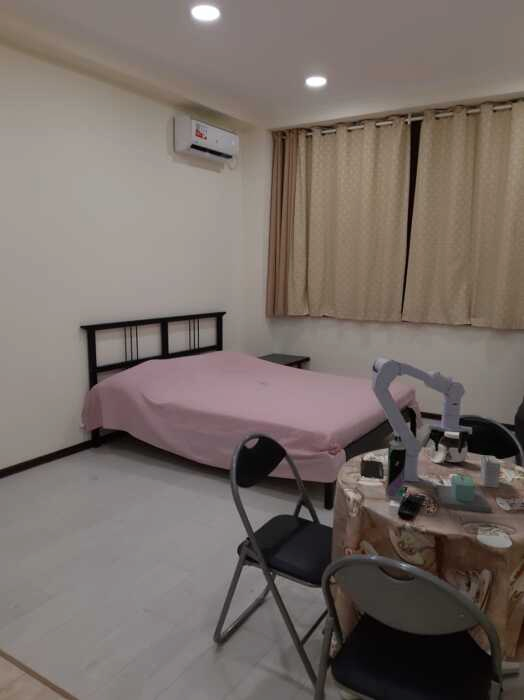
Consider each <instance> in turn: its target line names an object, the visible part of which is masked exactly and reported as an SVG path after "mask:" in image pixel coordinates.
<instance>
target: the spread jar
mask: <svg viewBox="0 0 524 700" xmlns="http://www.w3.org/2000/svg"><path fill="white" fill-rule="evenodd" d="M458 444H459V432H446V431H444V436H442V437H441V438H440V440H439V441H438V451H435V445H433V446H432V447H431V449H430V452H429V457H430V460H431V461H432V462H433V463H436V464H441V463H445V464H448V465H461V464H462V463H464V461H466V459H467V456H468V441H466V442H465V444H464V446H463V448H462V451H461V453H458Z"/></svg>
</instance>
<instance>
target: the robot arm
mask: <svg viewBox="0 0 524 700" xmlns="http://www.w3.org/2000/svg"><path fill="white" fill-rule="evenodd" d="M370 369H371V390H372V392H373V393H374V395H375V397H376V399H377V401H378V403H379V405H380V407H381V408H382V411H383V412H384V414H385V416H386V418H387V420H388V422H389V424H390V426H391V427H392V429H393V434H394V437H395V436H401V440H402V441H403V442H404V443H406V459H405V474H404V482H412V483H419V482H420V480H419V477H418V476H419V475H418V464H419V463H418V462H419V454H420V453H421V451H422V449H423V445H422V442H421V440H419V439H417V438H416V437H415V435H414V432H412V430H411V429H410V428H409V426H408V425H407V422H406V420H405V418H404V416H403V415H402V413H401V411H400V409H399V407H398V405H397V403H396V401H395V400H394V397H393V395H392V394H391V392H390V389H389V388H390V386H391V384H392V382H394V380H395V379H396V378H397V377H401V376H405V375H407V376H409V377H411V378H415V379H417V380H420V381H421V382H423V383H424V385H425V387H427V388H429V389H431V390H434V391H437V392H439V393H441V394H443V400H442V411H441V412H442V413H441V421H440V422H441V423H428V424H427V431H429V432H430V433H431V435H432V439H433V442H434V446H435V451H438V445H439V442H440V440H439V439H440V438H439V437H440V432H445V431H446V432H459V444H458V453H461V451H462V448H463V446H464V444H465V442H467V441H468V439H469V437H470V435H472V434H473V427H472V426H471V427H470V426H465V425H464V426H463V425H460V414H461V402H462V398H463V396H464V395H465V393H466V389H465V387H464V385H463V384H462V383H461V382H459V381H456V380H454V379H453V378H452V377H450V376H445V375H443V374H441V372H439V371H437V370H435V371H428V372H425V371H423V370H422V369H419V368H417V367H415V366H412V365H410V364H408V363H407V362H404V361H401V360H398V359H394V358H388V357H387V356H384V355H383V356H379V357H377V358H376V359H375V360H374V362H373V364H372V365H371V368H370Z"/></svg>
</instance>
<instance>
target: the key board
mask: <svg viewBox="0 0 524 700" xmlns="http://www.w3.org/2000/svg"><path fill="white" fill-rule="evenodd" d="M435 491H436V494H437V497H438V500H439V503H440V505H441V508H445V509H455V510H464V511H473V512H474V511H475V512H480V513H481V512H483V513H491V509H492V508H491V505H490V504H489V501H488V500H487V498H486V496H485V494H484V492H483V491H482V489H481V488H475V492H474V502H471V501H461V500H455V498H454V496H453V493H452V491H451V485H443V484H441V485H440V484H436V485H435Z"/></svg>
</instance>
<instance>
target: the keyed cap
mask: <svg viewBox="0 0 524 700" xmlns="http://www.w3.org/2000/svg"><path fill="white" fill-rule="evenodd" d="M450 486H451V491H452V493H453V496H454V498H455V500H461V501H471V502H474V492H475V489H476V486H475V484H474V482H473V480H472V478H471V476H466V475H465V476H463V475H454V474H452V476H451V485H450Z"/></svg>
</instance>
